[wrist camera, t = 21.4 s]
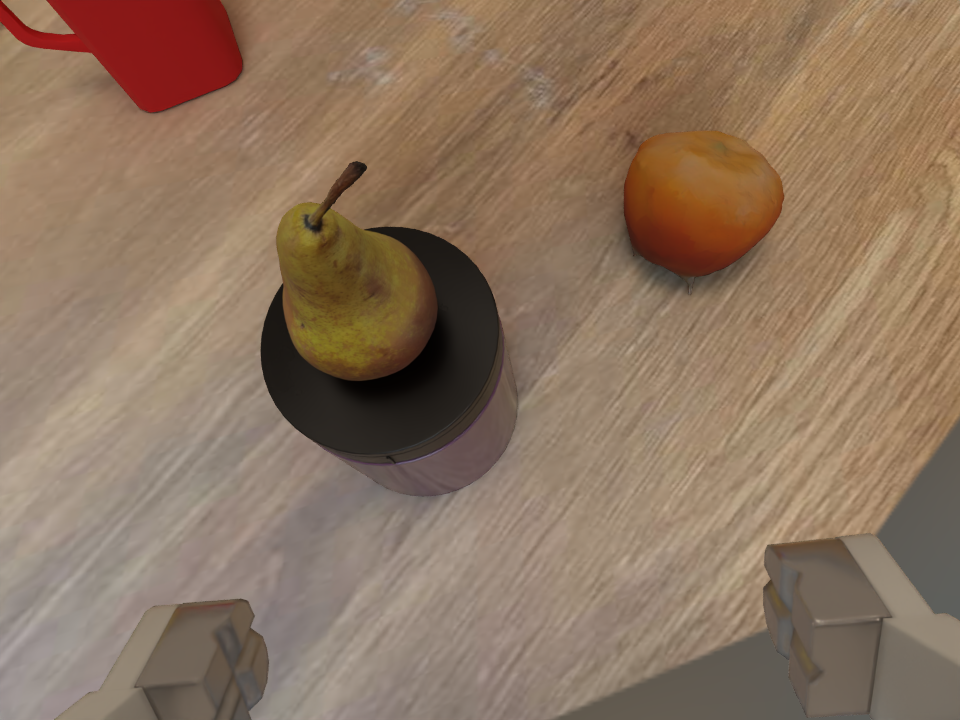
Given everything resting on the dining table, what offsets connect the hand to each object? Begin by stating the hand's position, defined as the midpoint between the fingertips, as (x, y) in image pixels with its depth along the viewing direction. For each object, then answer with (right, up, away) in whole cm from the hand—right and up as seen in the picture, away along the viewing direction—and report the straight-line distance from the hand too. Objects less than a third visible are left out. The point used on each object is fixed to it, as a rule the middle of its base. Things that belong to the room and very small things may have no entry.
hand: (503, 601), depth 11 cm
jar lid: (-5, +5, +18) cm, 19 cm away
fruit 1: (-5, +5, +18) cm, 19 cm away
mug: (-23, +24, +38) cm, 51 cm away
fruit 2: (+12, +11, +30) cm, 34 cm away
